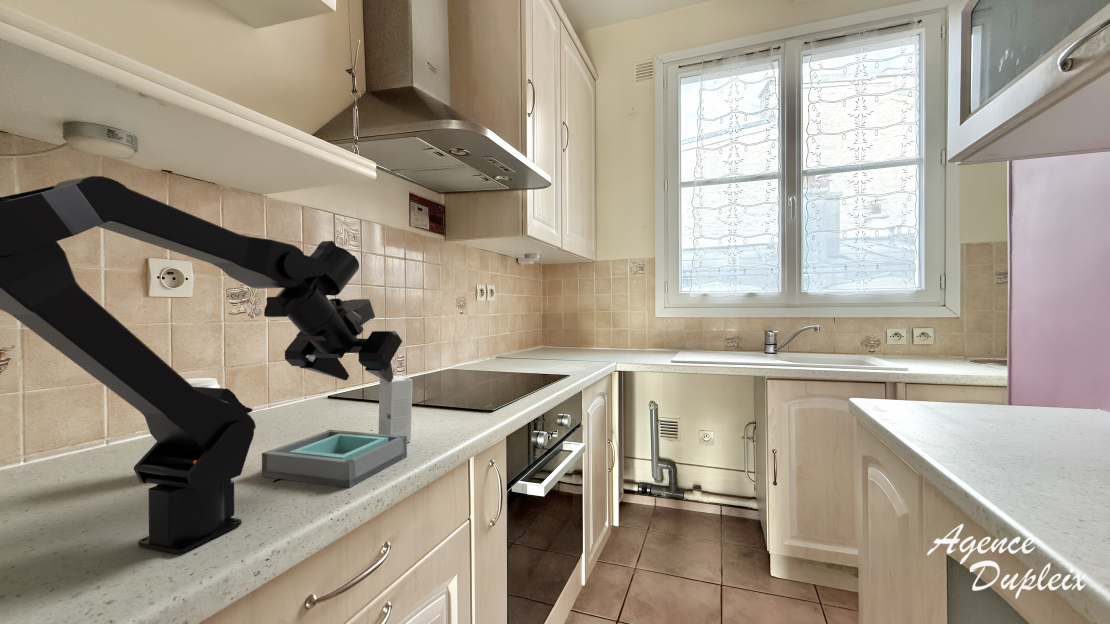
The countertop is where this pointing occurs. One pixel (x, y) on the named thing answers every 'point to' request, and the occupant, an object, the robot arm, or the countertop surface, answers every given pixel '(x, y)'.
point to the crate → (334, 457)
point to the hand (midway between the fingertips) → (368, 379)
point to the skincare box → (395, 407)
